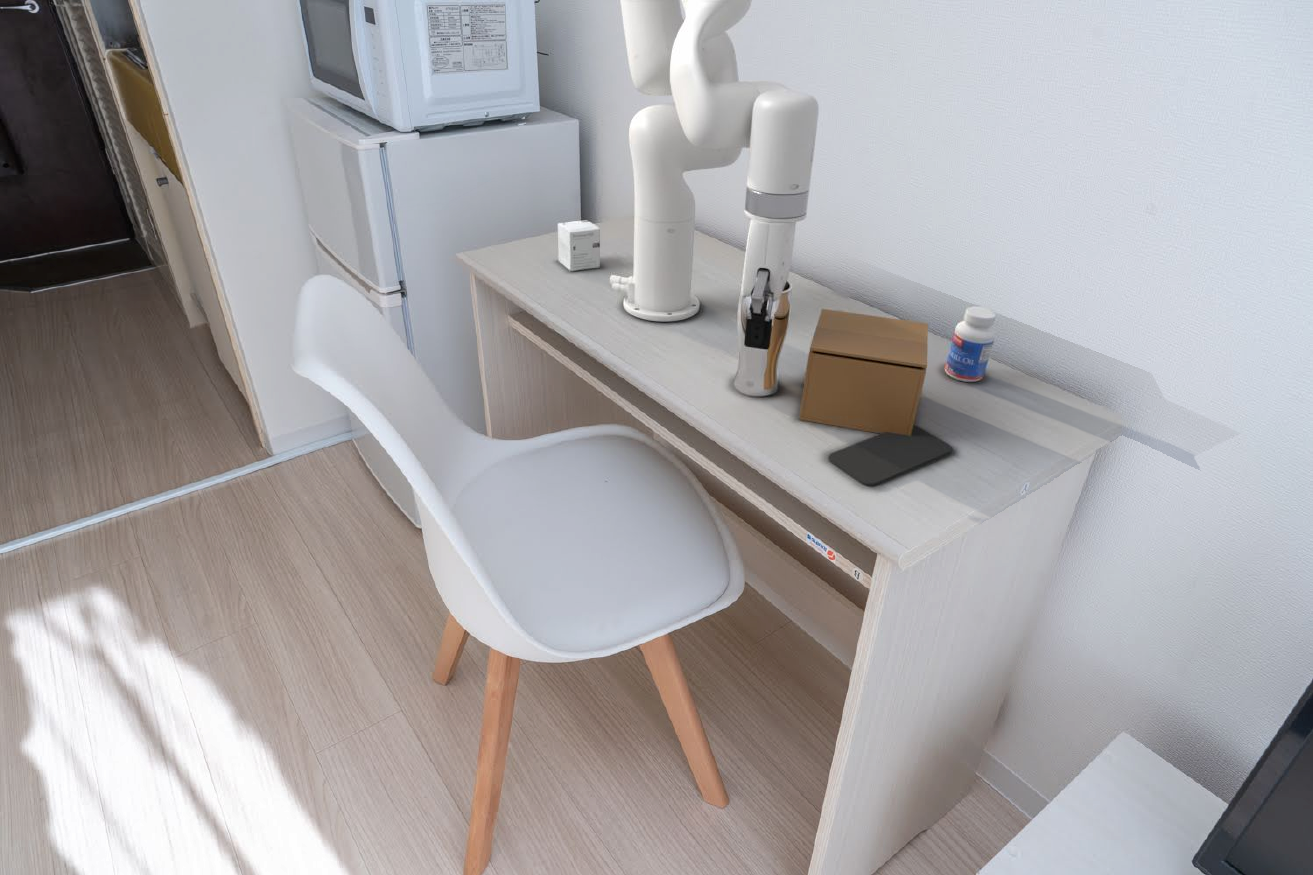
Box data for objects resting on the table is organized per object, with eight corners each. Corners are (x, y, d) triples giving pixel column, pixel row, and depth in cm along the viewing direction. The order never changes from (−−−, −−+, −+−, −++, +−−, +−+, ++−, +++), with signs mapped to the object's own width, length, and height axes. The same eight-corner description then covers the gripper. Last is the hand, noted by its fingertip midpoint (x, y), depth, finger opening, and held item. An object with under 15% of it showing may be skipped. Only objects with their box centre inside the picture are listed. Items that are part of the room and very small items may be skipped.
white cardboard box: (570, 272, 146) (569, 232, 142) (558, 261, 150) (556, 222, 146) (600, 267, 148) (600, 228, 144) (587, 257, 153) (587, 218, 149)
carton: (811, 375, 114) (821, 308, 109) (912, 391, 111) (928, 323, 106) (798, 419, 104) (809, 347, 98) (910, 438, 100) (927, 365, 95)
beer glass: (778, 401, 107) (792, 296, 100) (727, 395, 109) (736, 290, 101) (782, 378, 113) (795, 277, 105) (733, 372, 114) (742, 271, 106)
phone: (824, 455, 96) (910, 421, 103) (823, 461, 97) (909, 427, 104) (869, 486, 91) (956, 448, 98) (868, 492, 91) (955, 454, 98)
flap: (821, 311, 109) (822, 308, 109) (927, 326, 106) (927, 323, 106) (815, 330, 104) (816, 327, 104) (926, 346, 101) (927, 343, 100)
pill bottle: (936, 372, 116) (952, 309, 111) (957, 362, 119) (973, 301, 114) (970, 386, 113) (987, 323, 108) (990, 376, 116) (1008, 313, 111)
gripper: (758, 183, 105) (747, 306, 114) (731, 218, 91) (721, 355, 100) (815, 188, 104) (800, 312, 112) (797, 225, 89) (781, 363, 98)
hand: (763, 332), depth 106 cm, fingers open, 9 cm apart
